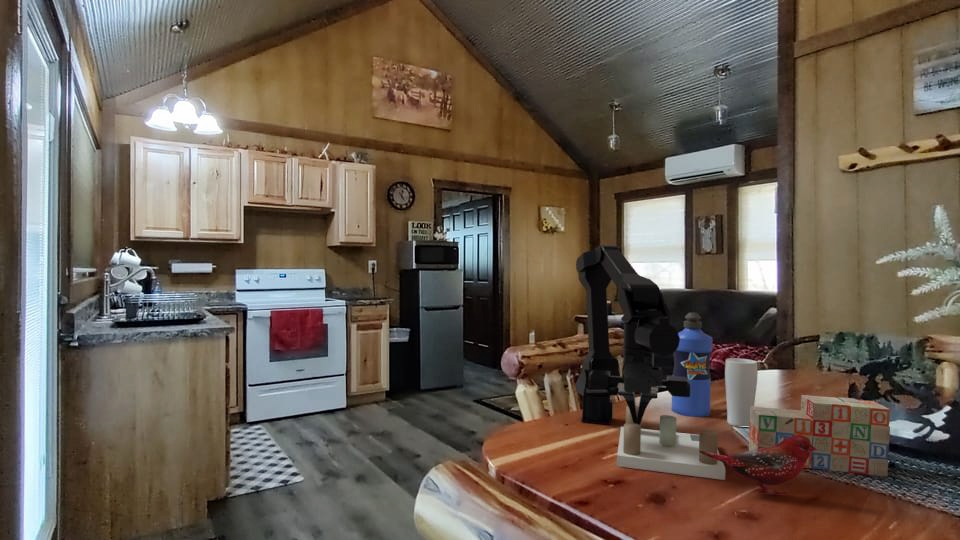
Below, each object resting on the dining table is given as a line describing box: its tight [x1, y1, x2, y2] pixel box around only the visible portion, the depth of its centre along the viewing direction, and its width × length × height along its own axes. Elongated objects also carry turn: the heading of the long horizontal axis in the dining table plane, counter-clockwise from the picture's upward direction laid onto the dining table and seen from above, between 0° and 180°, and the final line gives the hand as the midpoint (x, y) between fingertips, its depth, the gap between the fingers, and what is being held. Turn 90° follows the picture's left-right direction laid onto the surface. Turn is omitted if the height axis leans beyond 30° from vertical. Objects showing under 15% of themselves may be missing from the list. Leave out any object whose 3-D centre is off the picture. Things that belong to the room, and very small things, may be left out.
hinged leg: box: [658, 414, 677, 446], centre depth 105 cm, size 9×3×5 cm, turn 163°
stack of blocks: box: [748, 394, 891, 477], centre depth 99 cm, size 21×6×12 cm, turn 76°
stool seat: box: [616, 405, 726, 481], centre depth 102 cm, size 18×18×7 cm
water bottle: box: [671, 311, 713, 418], centre depth 133 cm, size 9×9×25 cm
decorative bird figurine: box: [699, 435, 817, 496], centre depth 86 cm, size 3×18×10 cm, turn 80°
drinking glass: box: [724, 357, 759, 427], centre depth 123 cm, size 7×7×15 cm
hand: (636, 426), depth 103 cm, fingers closed
